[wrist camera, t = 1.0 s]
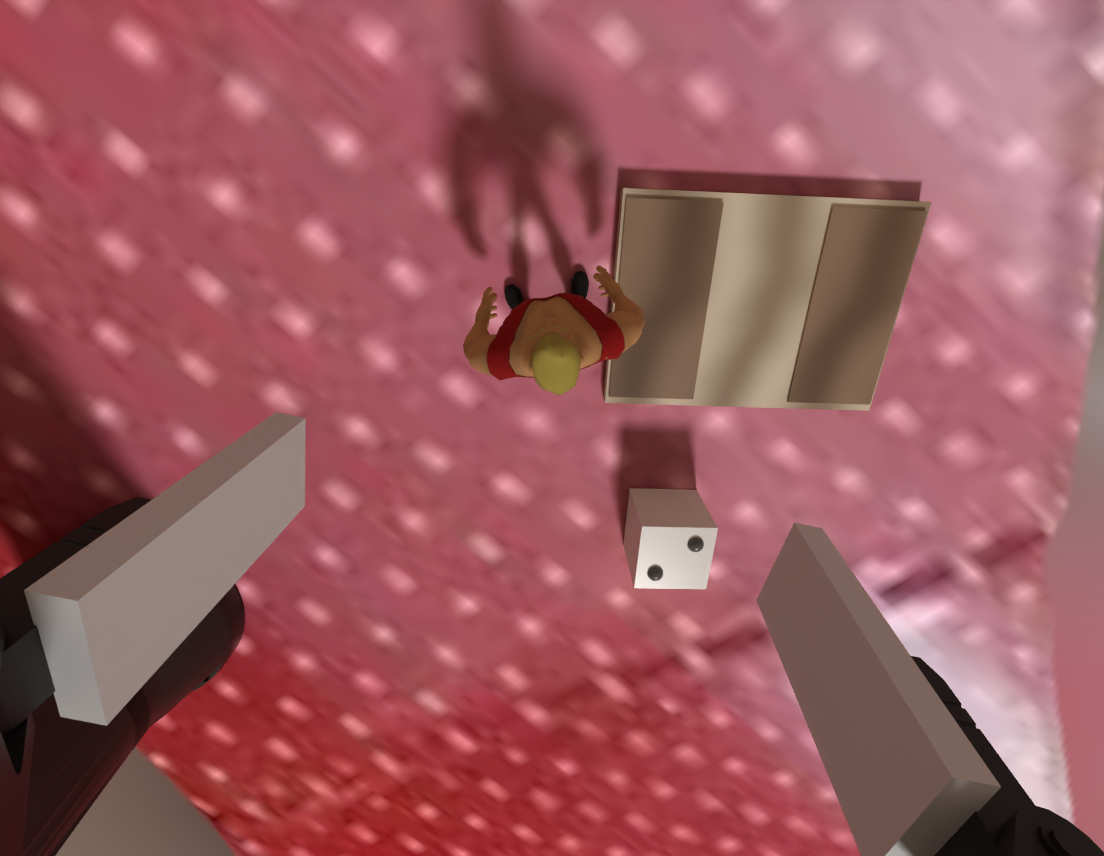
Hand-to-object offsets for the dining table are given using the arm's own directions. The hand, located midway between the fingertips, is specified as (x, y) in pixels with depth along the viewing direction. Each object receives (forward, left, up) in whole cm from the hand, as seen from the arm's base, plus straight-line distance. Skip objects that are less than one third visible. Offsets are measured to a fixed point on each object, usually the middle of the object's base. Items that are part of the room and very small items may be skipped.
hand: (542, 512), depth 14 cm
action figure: (0, +2, -22) cm, 22 cm away
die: (+9, -14, -22) cm, 27 cm away
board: (+13, +2, -22) cm, 26 cm away
